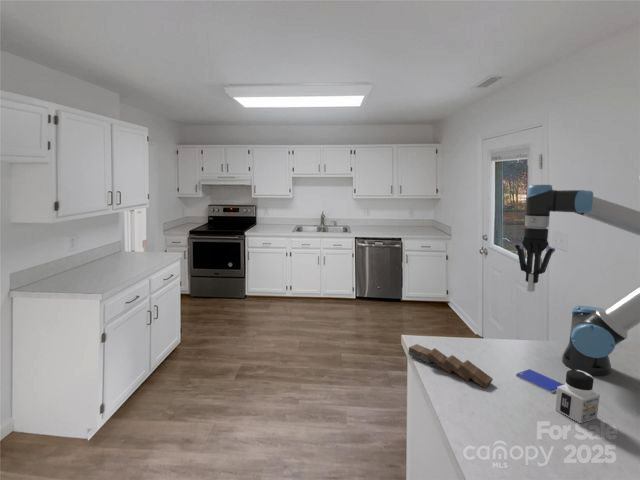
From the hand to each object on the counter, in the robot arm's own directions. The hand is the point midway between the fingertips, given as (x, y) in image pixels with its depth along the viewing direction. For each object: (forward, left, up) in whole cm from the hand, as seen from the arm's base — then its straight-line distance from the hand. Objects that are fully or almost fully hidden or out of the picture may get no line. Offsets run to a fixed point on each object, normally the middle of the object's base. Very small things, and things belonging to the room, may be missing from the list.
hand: (530, 290), depth 137 cm
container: (-23, +21, -30) cm, 43 cm away
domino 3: (+7, +26, -28) cm, 39 cm away
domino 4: (+1, +26, -28) cm, 38 cm away
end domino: (+24, +25, -29) cm, 45 cm away
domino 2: (+14, +26, -28) cm, 41 cm away
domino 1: (+23, +25, -27) cm, 44 cm away
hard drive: (-8, +8, -30) cm, 32 cm away
